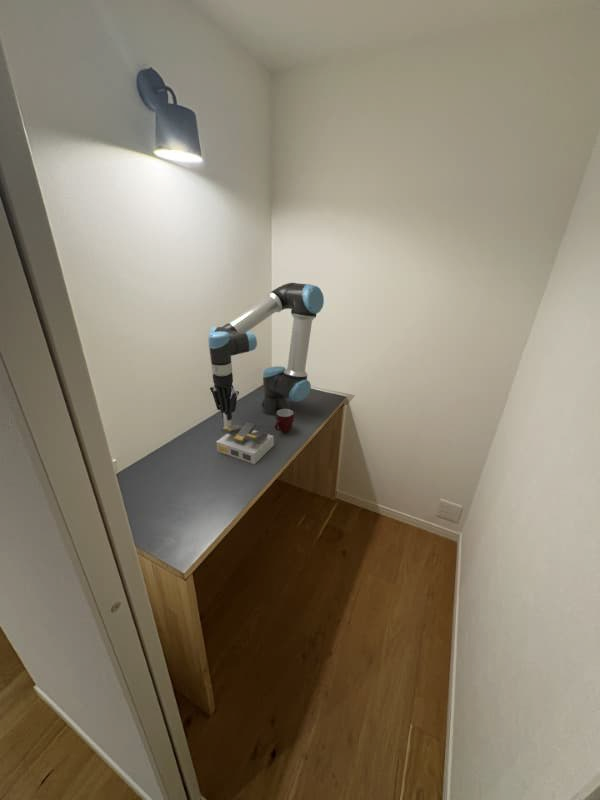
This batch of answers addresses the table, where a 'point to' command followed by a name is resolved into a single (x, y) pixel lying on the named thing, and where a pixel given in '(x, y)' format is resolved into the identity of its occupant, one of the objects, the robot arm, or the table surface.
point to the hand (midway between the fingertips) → (227, 425)
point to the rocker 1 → (232, 429)
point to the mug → (284, 420)
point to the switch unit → (245, 447)
